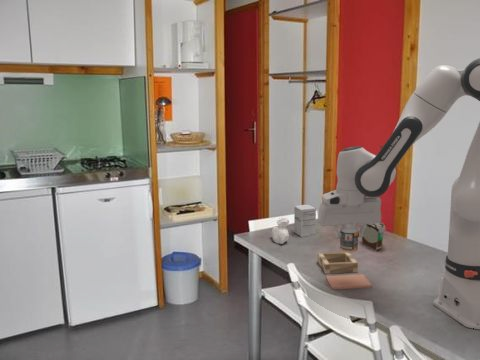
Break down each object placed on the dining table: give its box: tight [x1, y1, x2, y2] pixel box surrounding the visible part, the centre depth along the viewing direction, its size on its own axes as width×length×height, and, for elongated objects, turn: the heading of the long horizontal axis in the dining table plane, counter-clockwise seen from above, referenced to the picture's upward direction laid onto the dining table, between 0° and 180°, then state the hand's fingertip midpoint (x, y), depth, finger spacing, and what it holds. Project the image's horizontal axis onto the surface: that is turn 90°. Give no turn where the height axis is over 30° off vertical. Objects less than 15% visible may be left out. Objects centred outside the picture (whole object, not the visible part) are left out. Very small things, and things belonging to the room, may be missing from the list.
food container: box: [360, 221, 386, 252], centre depth 191 cm, size 12×6×10 cm, turn 22°
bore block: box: [317, 251, 359, 275], centre depth 172 cm, size 12×12×4 cm
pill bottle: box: [339, 223, 359, 254], centre depth 155 cm, size 6×6×10 cm
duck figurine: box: [270, 217, 290, 245], centre depth 201 cm, size 12×8×11 cm
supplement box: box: [293, 204, 317, 238], centre depth 209 cm, size 7×7×13 cm
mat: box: [325, 273, 373, 290], centre depth 158 cm, size 9×13×1 cm
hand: (349, 237), depth 155 cm, fingers closed on pill bottle, 6 cm apart
